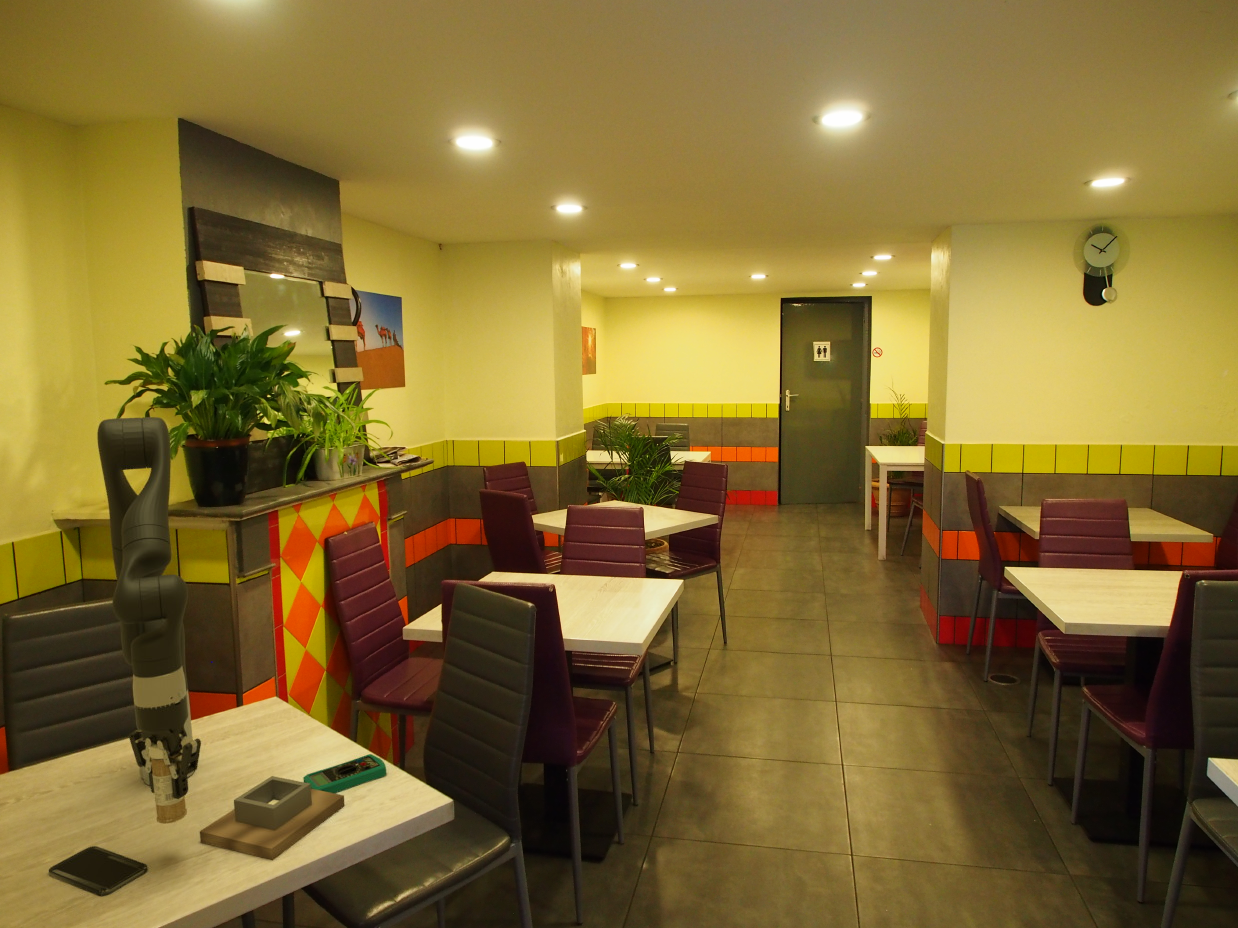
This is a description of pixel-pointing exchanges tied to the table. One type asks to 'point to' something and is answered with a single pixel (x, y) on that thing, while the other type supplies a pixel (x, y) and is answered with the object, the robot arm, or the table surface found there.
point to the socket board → (267, 840)
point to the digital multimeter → (347, 774)
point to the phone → (98, 870)
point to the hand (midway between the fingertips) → (169, 792)
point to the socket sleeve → (269, 816)
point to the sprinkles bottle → (165, 789)
